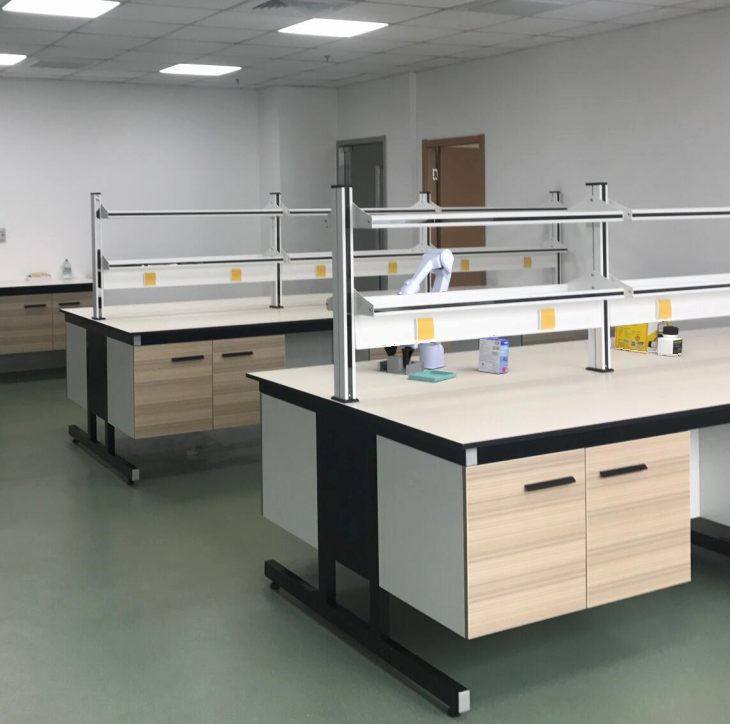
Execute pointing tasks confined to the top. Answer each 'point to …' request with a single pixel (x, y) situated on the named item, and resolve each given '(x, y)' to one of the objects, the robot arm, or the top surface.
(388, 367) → the toner caddy
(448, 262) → the robot arm
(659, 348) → the medicine bottle
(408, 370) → the printer bay
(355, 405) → the top surface
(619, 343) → the packaging box
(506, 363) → the ink cartridge box
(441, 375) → the teal tray
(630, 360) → the top surface
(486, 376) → the top surface
